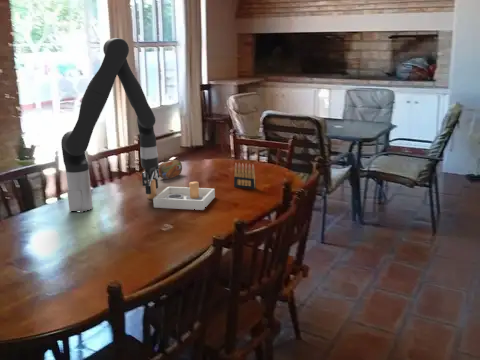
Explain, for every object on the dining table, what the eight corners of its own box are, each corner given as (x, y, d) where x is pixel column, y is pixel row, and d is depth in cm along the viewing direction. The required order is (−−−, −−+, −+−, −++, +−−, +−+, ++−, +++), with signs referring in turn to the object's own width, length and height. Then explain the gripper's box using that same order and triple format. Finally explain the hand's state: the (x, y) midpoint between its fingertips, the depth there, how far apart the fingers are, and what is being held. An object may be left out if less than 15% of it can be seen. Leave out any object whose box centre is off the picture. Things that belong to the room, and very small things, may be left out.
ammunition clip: (256, 188, 255) (255, 163, 252) (254, 189, 254) (253, 164, 251) (235, 185, 260) (235, 161, 257) (234, 186, 258) (233, 162, 255)
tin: (162, 180, 272) (161, 164, 270) (157, 180, 274) (156, 163, 272) (182, 174, 283) (182, 158, 281) (178, 173, 285) (177, 157, 283)
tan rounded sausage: (154, 199, 243) (153, 182, 240) (146, 198, 244) (144, 181, 241) (157, 196, 246) (156, 179, 244) (149, 196, 247) (148, 179, 245)
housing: (203, 210, 226) (202, 189, 224) (153, 207, 231) (152, 187, 229) (214, 197, 243) (214, 177, 241) (168, 195, 248) (167, 176, 246)
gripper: (147, 152, 247) (150, 186, 252) (134, 159, 234) (138, 195, 239) (163, 152, 246) (165, 186, 250) (151, 160, 232) (154, 196, 237)
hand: (152, 191), depth 244 cm, fingers open, 8 cm apart
